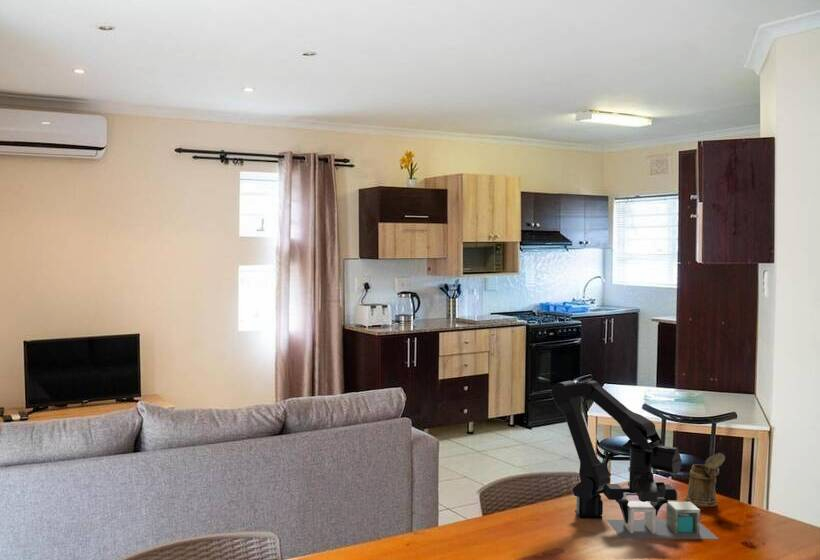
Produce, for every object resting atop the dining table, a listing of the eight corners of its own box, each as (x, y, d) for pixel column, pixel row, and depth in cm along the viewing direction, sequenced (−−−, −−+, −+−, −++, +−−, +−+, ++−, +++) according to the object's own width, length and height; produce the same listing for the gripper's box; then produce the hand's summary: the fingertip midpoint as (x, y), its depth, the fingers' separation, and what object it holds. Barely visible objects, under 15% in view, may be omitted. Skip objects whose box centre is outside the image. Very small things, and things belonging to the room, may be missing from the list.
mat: (621, 539, 199) (621, 538, 199) (606, 520, 213) (606, 519, 213) (718, 540, 200) (718, 538, 200) (697, 521, 214) (697, 520, 214)
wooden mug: (703, 513, 221) (705, 452, 220) (679, 499, 234) (681, 441, 234) (731, 512, 222) (733, 451, 222) (705, 498, 236) (707, 440, 235)
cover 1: (630, 533, 203) (631, 509, 203) (623, 524, 210) (623, 501, 210) (655, 533, 203) (655, 509, 203) (646, 524, 210) (647, 501, 210)
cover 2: (675, 533, 204) (675, 509, 203) (666, 524, 210) (666, 501, 210) (699, 533, 204) (700, 509, 203) (689, 524, 210) (690, 501, 210)
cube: (678, 531, 205) (678, 516, 205) (672, 526, 209) (672, 511, 209) (692, 531, 205) (693, 516, 205) (686, 526, 209) (687, 511, 209)
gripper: (615, 474, 198) (613, 533, 198) (686, 475, 198) (684, 534, 199) (603, 463, 209) (601, 518, 209) (670, 463, 209) (668, 519, 210)
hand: (639, 523), depth 207 cm, fingers closed on cover 1, 7 cm apart
